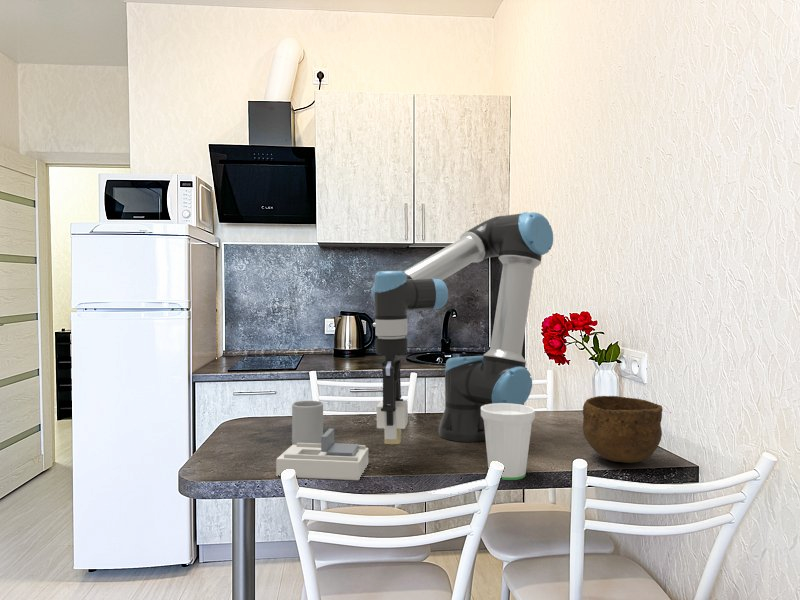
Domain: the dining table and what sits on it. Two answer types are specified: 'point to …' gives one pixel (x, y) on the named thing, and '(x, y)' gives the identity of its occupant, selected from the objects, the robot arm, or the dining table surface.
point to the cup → (508, 436)
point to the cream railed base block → (322, 462)
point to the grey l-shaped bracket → (336, 446)
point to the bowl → (622, 427)
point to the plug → (400, 415)
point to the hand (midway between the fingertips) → (392, 434)
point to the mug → (307, 422)
